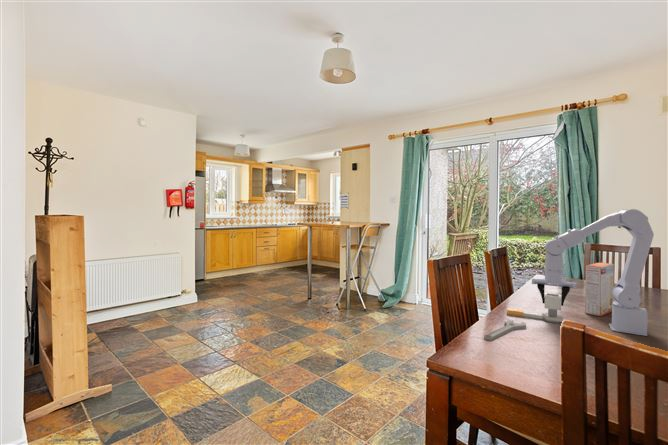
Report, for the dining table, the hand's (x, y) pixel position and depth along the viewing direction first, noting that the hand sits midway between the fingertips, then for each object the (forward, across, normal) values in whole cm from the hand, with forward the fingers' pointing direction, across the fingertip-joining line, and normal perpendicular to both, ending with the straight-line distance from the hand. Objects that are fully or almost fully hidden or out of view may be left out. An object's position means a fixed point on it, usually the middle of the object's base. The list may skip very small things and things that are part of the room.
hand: (552, 304), depth 130 cm
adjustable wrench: (+7, +15, +24) cm, 29 cm away
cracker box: (+7, -17, -24) cm, 30 cm away
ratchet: (+7, +6, 0) cm, 9 cm away
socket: (+1, 0, 0) cm, 1 cm away
